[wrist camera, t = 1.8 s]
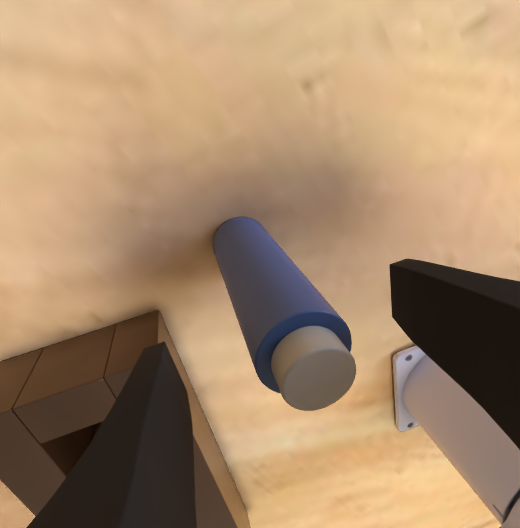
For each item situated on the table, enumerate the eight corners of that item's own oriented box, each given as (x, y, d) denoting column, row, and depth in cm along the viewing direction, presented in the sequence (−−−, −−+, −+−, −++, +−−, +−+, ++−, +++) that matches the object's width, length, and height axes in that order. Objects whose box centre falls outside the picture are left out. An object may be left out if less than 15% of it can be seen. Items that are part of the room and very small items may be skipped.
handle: (260, 209, 17) (367, 317, 8) (271, 258, 18) (375, 400, 9) (205, 225, 16) (253, 358, 7) (221, 275, 17) (277, 438, 9)
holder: (159, 309, 17) (157, 359, 14) (247, 512, 26) (260, 574, 23) (-3, 362, 16) (-49, 430, 13) (146, 554, 25) (142, 627, 22)
